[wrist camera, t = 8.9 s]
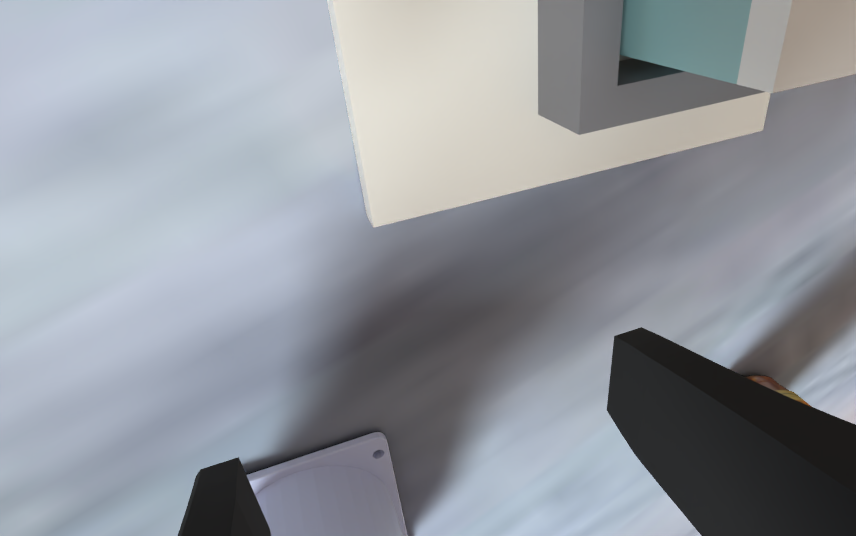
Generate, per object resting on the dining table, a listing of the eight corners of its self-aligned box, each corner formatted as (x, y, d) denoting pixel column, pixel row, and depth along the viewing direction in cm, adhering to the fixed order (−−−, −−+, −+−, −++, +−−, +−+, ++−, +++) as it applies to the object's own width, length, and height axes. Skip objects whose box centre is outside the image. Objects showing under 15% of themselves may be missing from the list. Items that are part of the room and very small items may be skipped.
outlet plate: (742, 124, 23) (819, 149, 20) (366, 215, 19) (393, 262, 16) (811, -229, 17) (934, -265, 14) (291, -190, 13) (313, -228, 11)
